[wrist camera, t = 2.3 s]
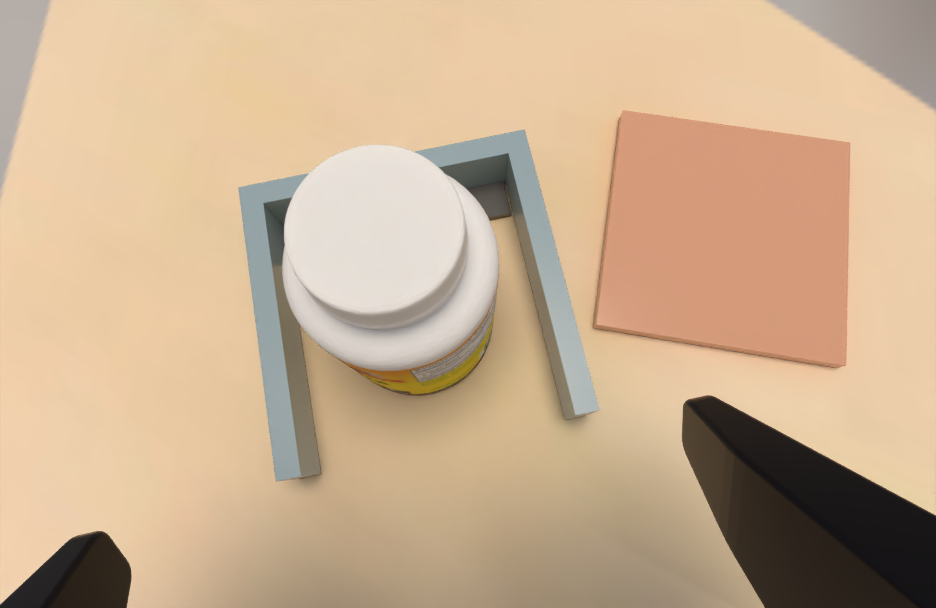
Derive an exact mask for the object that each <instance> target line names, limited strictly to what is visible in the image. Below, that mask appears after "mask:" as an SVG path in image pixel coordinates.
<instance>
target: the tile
mask: <svg viewBox="0 0 936 608" xmlns="http://www.w3.org/2000/svg"><path fill="white" fill-rule="evenodd" d="M849 181H850V143H849V142H842V141H835V140H828V139H820V138H813V137H806V136H799V135H792V134H785V133H778V132H771V131H764V130H757V129H750V128H743V127H736V126H729V125H722V124H715V123H708V122H701V121H694V120H687V119H680V118H673V117H666V116H659V115H652V114H645V113H638V112H631V111H624V110H623V111H622V113H621V116H620V118H619V126H618V134H617V142H616V150H615V158H614V166H613V174H612V182H611V190H610V198H609V206H608V214H607V222H606V230H605V238H604V246H603V254H602V262H601V270H600V278H599V286H598V294H597V302H596V309H595V317H594V325H593V328H597V329H603V330H609V331H615V332H621V333H628V334H634V335H640V336H646V337H652V338H658V339H664V340H670V341H676V342H682V343H688V344H694V345H700V346H706V347H713V348H719V349H725V350H731V351H737V352H743V353H749V354H755V355H761V356H767V357H773V358H779V359H785V360H791V361H798V362H804V363H810V364H816V365H822V366H828V367H834V368H838V367H842V366H846V347H847V291H848V236H849Z"/></svg>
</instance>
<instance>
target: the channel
mask: <svg viewBox="0 0 936 608" xmlns="http://www.w3.org/2000/svg"><path fill="white" fill-rule="evenodd" d="M415 153H417V154H420V155H422V156H423V157H425V158H427V159H428V160H430V161H431V162H432V163H434V164H435V165H436V166H437V167H439V168H440V169H441V170H442V171H443V172H444V174H446V175H448V176H450V177H452V178H453V179H455V180H456V181H457V182H458V183H460V184H461V185H462V186H464V187H465V188H466V189H467V190H468V191H469V192H470V193H471V194H472V195H473V196H474V197H475V198H476V200H477V201H478V202H479V203H480V205H481V207H482V208H483V209H484V211H485V213H486V215H487V216H488V218H489V220H493V219H497V218H502V217H507V216H511V210H510V206H509V202H508V198H507V194H506V190H505V186H504V184H506V188H507V192H508V196H509V200H510V204H511V208H512V212H513V216H514V220H515V224H516V228H517V232H518V236H519V240H520V244H521V248H522V252H523V256H524V260H525V264H526V268H527V272H528V276H529V280H530V284H531V288H532V291H533V295H534V299H535V303H536V307H537V311H538V315H539V319H540V323H541V327H542V331H543V335H544V339H545V343H546V347H547V351H548V355H549V359H550V363H551V367H552V371H553V375H554V379H555V383H556V387H557V391H558V395H559V399H560V403H561V407H562V411H563V415H564V419H565V420H567V419H571V418H576V417H580V416H585V415H588V414H591V413H593V412H596V411H599V406H598V402H597V398H596V395H595V391H594V387H593V383H592V380H591V376H590V372H589V368H588V365H587V361H586V357H585V354H584V350H583V346H582V342H581V339H580V335H579V331H578V327H577V324H576V320H575V316H574V312H573V309H572V305H571V301H570V297H569V294H568V290H567V286H566V282H565V279H564V275H563V271H562V267H561V264H560V260H559V256H558V252H557V249H556V245H555V241H554V237H553V234H552V230H551V226H550V222H549V219H548V215H547V211H546V207H545V204H544V200H543V196H542V192H541V189H540V185H539V181H538V178H537V174H536V170H535V166H534V163H533V159H532V155H531V151H530V148H529V144H528V140H527V136H526V133H525V130H520V131H515V132H510V133H505V134H500V135H495V136H490V137H485V138H480V139H475V140H471V141H466V142H461V143H456V144H451V145H446V146H441V147H436V148H431V149H426V150H421V151H416V152H415ZM308 174H309V173H308ZM308 174H303V175H298V176H293V177H288V178H283V179H278V180H273V181H268V182H263V183H258V184H253V185H248V186H244V187H239V196H240V203H241V211H242V219H243V227H244V235H245V243H246V250H247V258H248V266H249V274H250V282H251V290H252V297H253V305H254V313H255V321H256V329H257V337H258V344H259V352H260V360H261V368H262V376H263V384H264V391H265V399H266V407H267V415H268V423H269V431H270V438H271V446H272V454H273V462H274V470H275V478H276V481H284V480H292V479H299V478H304V477H308V476H313V475H318V474H321V469H320V462H319V456H318V449H317V442H316V435H315V428H314V422H313V415H312V408H311V401H310V394H309V387H308V381H307V374H306V367H305V360H304V353H303V346H302V340H301V333H300V326H299V322H298V321H297V319H296V317H295V316H294V314H293V312H292V310H291V308H290V305H289V302H288V300H287V297H286V293H285V288H284V284H283V275H282V262H283V252H284V246H285V243H284V224H285V217H286V213H287V210H288V207H289V204H290V202H291V199H292V197H293V195H294V193H295V192H296V190H297V188H298V187H299V185H300V184H301V183H302V181H303V180H304V179H305V178H306V176H307V175H308Z"/></svg>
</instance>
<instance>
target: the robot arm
mask: <svg viewBox="0 0 936 608" xmlns="http://www.w3.org/2000/svg"><path fill="white" fill-rule="evenodd" d="M682 442H683V447H684V450H685V453H686V456H687V458H688V460H689V462H690V464H691V467H692V469H693V471H694V473H695V475H696V478H697V480H698V482H699V484H700V486H701V488H702V491H703V493H704V495H705V497H706V499H707V502H708V504H709V506H710V508H711V510H712V512H713V515H714V517H715V519H716V521H717V523H718V526H719V528H720V530H721V532H722V534H723V536H724V538H725V540H726V542H727V544H728V546H729V547H730V549H731V551H732V553H733V555H734V556H735V558H736V560H737V561H738V563H739V565H740V566H741V568H742V570H743V571H744V573H745V575H746V576H747V578H748V580H749V581H750V583H751V585H752V587H753V588H754V590H755V592H756V593H757V595H758V597H759V598H760V600H761V602H762V603H763V605H764V607H765V608H936V515H934V514H932V513H930V512H928V511H926V510H925V509H923V508H921V507H919V506H917V505H915V504H913V503H912V502H910V501H908V500H906V499H904V498H902V497H900V496H898V495H897V494H895V493H893V492H891V491H889V490H887V489H885V488H884V487H882V486H880V485H878V484H876V483H874V482H872V481H871V480H869V479H867V478H865V477H863V476H861V475H859V474H857V473H856V472H854V471H852V470H850V469H848V468H846V467H844V466H843V465H841V464H839V463H837V462H835V461H833V460H831V459H830V458H828V457H826V456H824V455H822V454H820V453H818V452H817V451H815V450H813V449H811V448H809V447H807V446H805V445H803V444H802V443H800V442H798V441H796V440H794V439H792V438H790V437H789V436H787V435H785V434H783V433H781V432H779V431H777V430H776V429H774V428H772V427H770V426H768V425H766V424H764V423H762V422H761V421H759V420H757V419H755V418H753V417H751V416H749V415H748V414H746V413H744V412H742V411H740V410H738V409H736V408H735V407H733V406H731V405H729V404H727V403H725V402H723V401H721V400H720V399H718V398H716V397H713V396H702V397H698V398H693V399H689V400H687V401H686V402H685V403H684V405H683V423H682ZM130 585H131V568H130V565H129V563H128V561H127V560H126V558H125V557H124V556H123V554H122V553H121V551H120V550H119V549H118V547H117V546H116V545H115V543H114V542H113V540H112V539H111V538H110V536H109V535H108V534H107V533H105V532H103V531H96V532H91V533H87V534H82V535H78V536H75V537H73V538H71V539H70V540H69V541H68V542H66V543H65V544H64V545H63V546H62V547H61V548H60V549H59V550H58V551H57V552H56V553H55V554H54V555H53V556H52V557H50V558H49V559H48V560H47V561H46V562H45V563H44V564H43V565H42V566H41V567H40V568H39V569H38V570H37V571H36V572H35V573H33V574H32V575H31V576H30V577H29V578H28V579H27V580H26V581H25V582H24V583H23V584H22V585H21V586H20V587H19V588H18V589H16V590H15V591H14V592H13V593H12V594H11V595H10V596H9V597H8V598H7V599H6V600H5V601H4V602H3V603H2V604H1V605H0V608H127V602H128V596H129V590H130Z"/></svg>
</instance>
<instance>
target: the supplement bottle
mask: <svg viewBox="0 0 936 608" xmlns="http://www.w3.org/2000/svg"><path fill="white" fill-rule="evenodd" d="M284 243H285V246H284V252H283V262H282V275H283V284H284V288H285V293H286V297H287V300H288V302H289V305H290V308H291V310H292V312H293V314H294V316H295V317H296V319H297V321H298V322H299V324H300V325H301V327H302V328H303V329H304V331H305V332H306V333H307V334H308V335H309V336H310V337H311V338H312V339H313V340H314V341H315V342H316V343H317V344H318V345H319V346H320V347H322V348H323V349H324V350H325V351H327V352H328V353H329V354H331V355H332V356H334V357H336V358H337V359H339V360H340V361H342V362H343V363H345V364H346V365H348V366H349V367H351V368H353V369H354V370H356V371H357V372H358V373H360V374H361V375H363V376H365V377H366V378H368V379H370V380H371V381H372V382H374V383H376V384H378V385H379V386H381V387H383V388H385V389H388V390H391V391H393V392H397V393H401V394H405V395H427V394H433V393H437V392H440V391H443V390H445V389H448V388H450V387H452V386H454V385H456V384H457V383H459V382H460V381H462V380H463V379H464V378H465V377H467V376H468V375H469V374H470V373H471V372H472V371H473V370H474V368H475V367H476V366H477V365H478V363H479V362H480V360H481V359H482V357H483V356H484V353H485V351H486V349H487V347H488V344H489V341H490V337H491V332H492V326H493V318H494V311H495V302H496V293H497V285H498V276H499V254H498V246H497V241H496V237H495V234H494V231H493V228H492V225H491V223H490V220H489V218H488V216H487V215H486V213H485V211H484V209H483V208H482V207H481V205H480V203H479V202H478V201H477V200H476V198H475V197H474V196H473V195H472V194H471V193H470V192H469V191H468V190H467V189H466V188H465V187H464V186H462V185H461V184H460V183H458V182H457V181H456V180H455V179H453V178H452V177H450V176H448V175H446V174H444V172H443V171H442V170H441V169H440V168H439V167H437V166H436V165H435V164H434V163H432V162H431V161H430V160H428V159H427V158H425V157H423V156H422V155H420V154H417V153H415V152H413V151H410V150H408V149H404V148H401V147H395V146H389V145H366V146H360V147H355V148H352V149H348V150H345V151H343V152H340V153H338V154H336V155H334V156H332V157H330V158H328V159H327V160H325V161H324V162H322V163H321V164H320V165H318V166H317V167H316V168H315V169H314V170H312V171H311V172H310V173H309V174H308V175H307V176H306V178H305V179H304V180H303V181H302V183H301V184H300V185H299V187H298V188H297V190H296V192H295V193H294V195H293V197H292V199H291V202H290V204H289V207H288V210H287V213H286V217H285V224H284Z"/></svg>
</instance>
